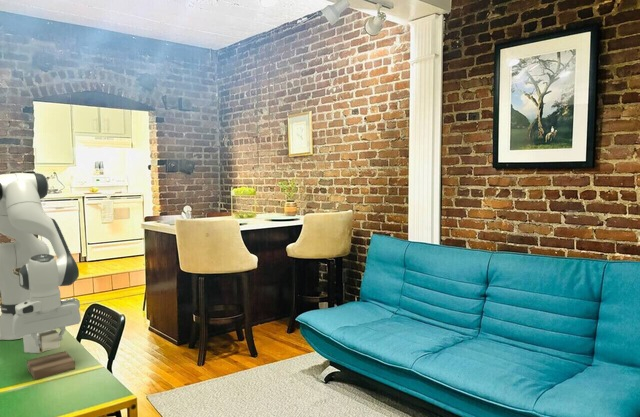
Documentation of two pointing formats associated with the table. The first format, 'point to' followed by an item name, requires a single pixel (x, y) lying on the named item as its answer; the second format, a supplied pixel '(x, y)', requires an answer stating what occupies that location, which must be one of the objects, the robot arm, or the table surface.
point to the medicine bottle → (31, 344)
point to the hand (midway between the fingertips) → (49, 342)
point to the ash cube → (49, 340)
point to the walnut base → (50, 365)
